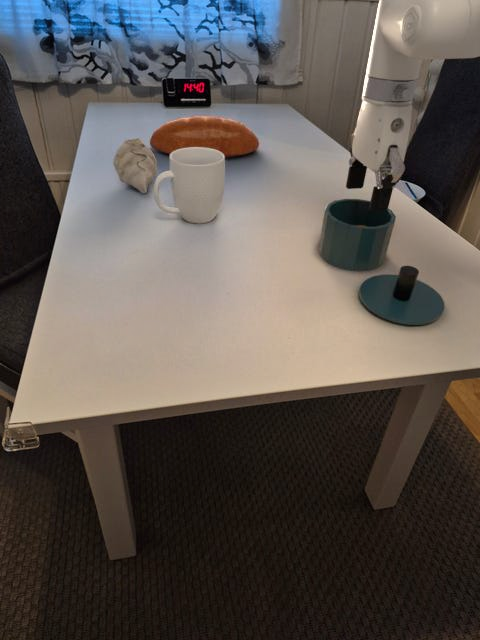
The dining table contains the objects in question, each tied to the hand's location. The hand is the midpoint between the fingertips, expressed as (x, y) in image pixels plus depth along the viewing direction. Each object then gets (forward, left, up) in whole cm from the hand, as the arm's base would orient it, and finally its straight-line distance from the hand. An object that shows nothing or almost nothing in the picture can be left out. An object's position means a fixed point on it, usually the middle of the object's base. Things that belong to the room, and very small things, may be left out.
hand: (365, 198), depth 78 cm
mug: (+34, -3, -12) cm, 36 cm away
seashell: (+54, -14, -12) cm, 57 cm away
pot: (0, -1, -12) cm, 12 cm away
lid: (-10, +12, -11) cm, 19 cm away
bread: (+50, -46, -12) cm, 69 cm away
